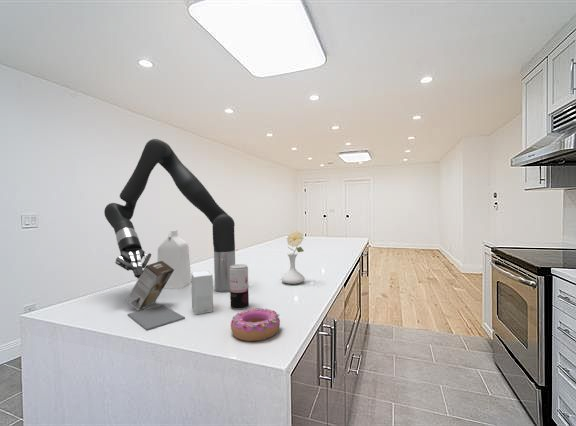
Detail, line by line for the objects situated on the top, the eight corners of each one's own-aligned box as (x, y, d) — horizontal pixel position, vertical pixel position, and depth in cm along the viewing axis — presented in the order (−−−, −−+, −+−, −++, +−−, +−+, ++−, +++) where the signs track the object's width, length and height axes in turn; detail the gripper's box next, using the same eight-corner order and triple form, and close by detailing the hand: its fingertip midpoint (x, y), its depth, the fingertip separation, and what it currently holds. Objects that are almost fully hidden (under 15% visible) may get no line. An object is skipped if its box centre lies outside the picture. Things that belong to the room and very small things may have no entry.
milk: (182, 288, 129) (180, 231, 129) (156, 288, 129) (155, 232, 129) (191, 281, 141) (189, 229, 141) (168, 281, 141) (166, 229, 141)
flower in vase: (276, 282, 136) (275, 230, 135) (293, 278, 144) (292, 229, 143) (295, 288, 126) (294, 232, 126) (312, 283, 134) (311, 230, 133)
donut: (220, 338, 79) (220, 320, 79) (247, 319, 92) (247, 304, 92) (266, 347, 73) (265, 328, 73) (288, 326, 87) (287, 309, 86)
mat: (127, 315, 97) (127, 313, 97) (162, 306, 106) (162, 304, 106) (146, 330, 85) (146, 328, 85) (185, 318, 93) (185, 317, 93)
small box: (213, 311, 99) (212, 274, 99) (194, 315, 96) (193, 277, 96) (209, 304, 107) (208, 270, 106) (191, 307, 104) (190, 272, 103)
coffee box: (143, 292, 111) (162, 259, 109) (155, 302, 110) (175, 269, 108) (125, 300, 102) (145, 265, 100) (138, 311, 101) (159, 275, 99)
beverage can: (241, 302, 108) (241, 263, 108) (252, 306, 104) (251, 265, 103) (227, 307, 104) (226, 266, 103) (237, 311, 99) (236, 268, 99)
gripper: (111, 237, 107) (122, 274, 98) (148, 234, 116) (160, 267, 108) (107, 249, 111) (118, 286, 102) (143, 245, 120) (156, 279, 112)
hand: (140, 276), depth 105 cm, fingers closed
